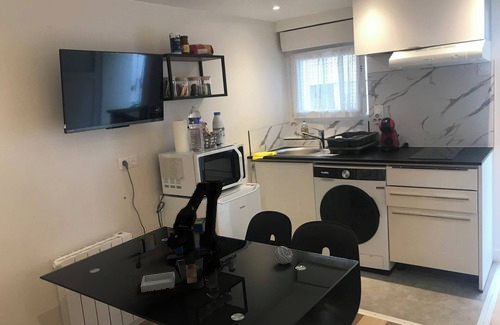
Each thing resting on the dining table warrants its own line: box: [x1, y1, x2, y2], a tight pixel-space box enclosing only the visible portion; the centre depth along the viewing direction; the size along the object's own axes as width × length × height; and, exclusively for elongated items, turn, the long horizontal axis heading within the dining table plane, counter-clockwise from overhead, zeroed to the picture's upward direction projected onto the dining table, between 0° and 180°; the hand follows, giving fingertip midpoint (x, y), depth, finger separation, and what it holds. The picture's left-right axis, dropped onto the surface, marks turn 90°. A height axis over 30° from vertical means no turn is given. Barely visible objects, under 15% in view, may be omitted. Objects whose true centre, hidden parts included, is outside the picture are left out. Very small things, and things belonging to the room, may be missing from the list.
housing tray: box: [140, 271, 176, 293], centre depth 179 cm, size 13×11×2 cm
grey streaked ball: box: [274, 245, 294, 265], centre depth 190 cm, size 8×8×8 cm
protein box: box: [172, 217, 205, 255], centre depth 218 cm, size 10×15×16 cm
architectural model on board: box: [137, 232, 159, 254], centre depth 225 cm, size 11×3×10 cm, turn 150°
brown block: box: [185, 263, 198, 284], centre depth 180 cm, size 4×6×7 cm, turn 9°
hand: (191, 277), depth 181 cm, fingers open, 9 cm apart
